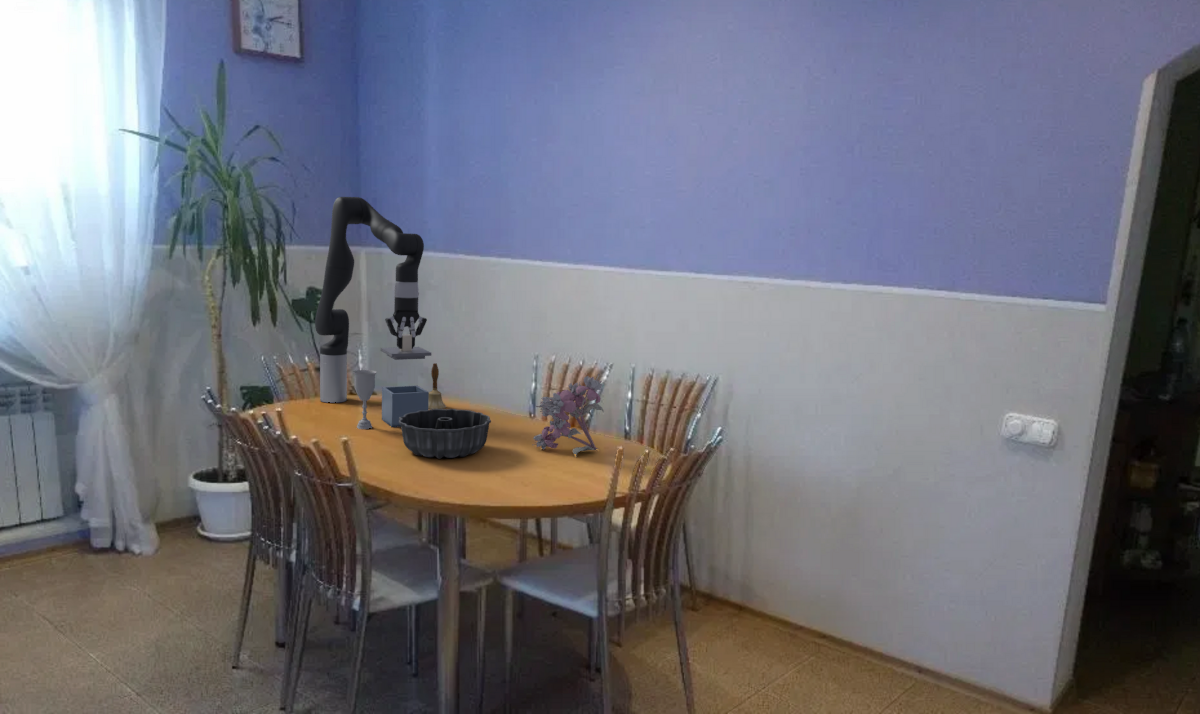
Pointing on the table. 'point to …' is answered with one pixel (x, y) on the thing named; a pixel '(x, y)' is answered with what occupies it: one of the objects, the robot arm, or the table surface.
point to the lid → (406, 350)
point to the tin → (402, 402)
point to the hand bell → (435, 391)
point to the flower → (567, 404)
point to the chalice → (364, 392)
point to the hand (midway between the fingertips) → (405, 348)
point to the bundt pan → (444, 432)
